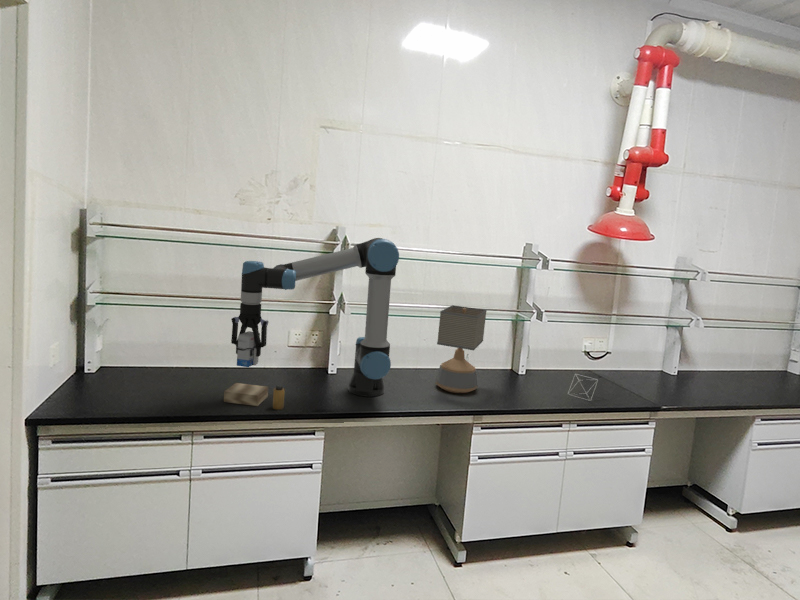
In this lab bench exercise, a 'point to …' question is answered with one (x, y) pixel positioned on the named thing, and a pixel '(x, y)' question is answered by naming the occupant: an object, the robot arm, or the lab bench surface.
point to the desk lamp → (460, 346)
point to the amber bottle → (278, 397)
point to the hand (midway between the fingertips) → (247, 363)
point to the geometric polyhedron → (582, 386)
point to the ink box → (246, 349)
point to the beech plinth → (246, 394)
